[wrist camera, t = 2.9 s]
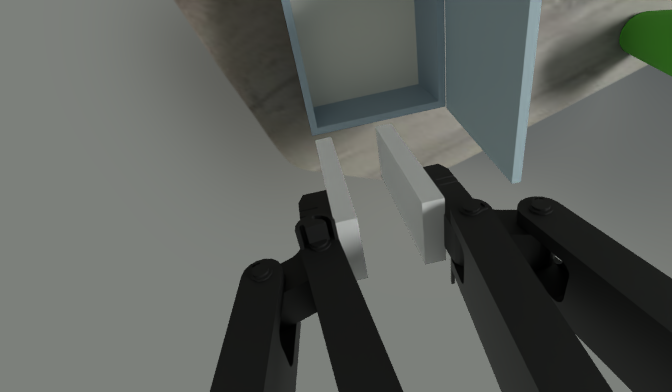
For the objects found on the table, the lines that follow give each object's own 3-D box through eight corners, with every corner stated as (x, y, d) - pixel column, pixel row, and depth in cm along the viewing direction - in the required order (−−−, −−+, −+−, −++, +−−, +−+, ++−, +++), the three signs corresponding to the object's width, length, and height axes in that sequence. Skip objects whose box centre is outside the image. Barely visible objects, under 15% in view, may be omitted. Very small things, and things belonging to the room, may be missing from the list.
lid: (541, -111, 19) (555, -114, 19) (444, -84, 34) (452, -86, 34) (511, 183, 29) (520, 181, 29) (446, 107, 43) (452, 106, 43)
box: (271, -45, 40) (270, -46, 33) (415, -76, 41) (443, -83, 34) (307, 112, 50) (312, 135, 43) (422, 86, 50) (445, 106, 44)
